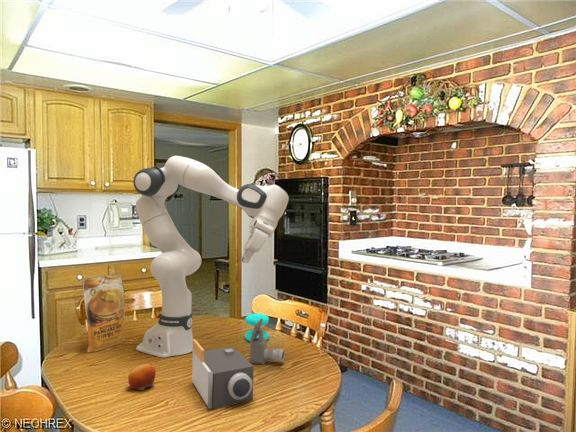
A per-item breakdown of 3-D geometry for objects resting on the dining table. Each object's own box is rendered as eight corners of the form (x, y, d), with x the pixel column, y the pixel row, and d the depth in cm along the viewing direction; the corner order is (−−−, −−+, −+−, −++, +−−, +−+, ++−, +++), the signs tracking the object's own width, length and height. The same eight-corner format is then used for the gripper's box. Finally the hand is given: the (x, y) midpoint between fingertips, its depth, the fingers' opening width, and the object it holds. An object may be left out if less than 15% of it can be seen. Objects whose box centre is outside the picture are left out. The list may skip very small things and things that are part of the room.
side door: (191, 381, 128) (192, 339, 127) (195, 380, 128) (195, 339, 128) (208, 409, 111) (209, 361, 110) (212, 408, 111) (213, 360, 111)
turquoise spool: (256, 320, 163) (240, 315, 170) (255, 345, 163) (240, 339, 170) (273, 316, 170) (258, 311, 177) (273, 339, 170) (257, 333, 177)
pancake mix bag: (76, 351, 152) (77, 278, 151) (120, 337, 168) (121, 271, 167) (87, 355, 148) (87, 280, 147) (131, 341, 165) (131, 273, 164)
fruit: (143, 392, 118) (135, 365, 120) (129, 399, 122) (120, 373, 124) (165, 382, 125) (156, 357, 127) (150, 389, 128) (142, 365, 130)
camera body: (196, 382, 128) (197, 349, 128) (232, 375, 133) (232, 343, 133) (215, 413, 110) (216, 374, 109) (256, 403, 115) (256, 366, 115)
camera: (280, 369, 140) (281, 327, 139) (248, 366, 142) (248, 324, 141) (285, 360, 148) (286, 320, 148) (255, 357, 150) (255, 317, 150)
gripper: (250, 225, 153) (233, 257, 150) (257, 221, 133) (238, 258, 131) (265, 233, 154) (248, 265, 151) (274, 230, 134) (255, 267, 131)
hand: (243, 262), depth 141 cm, fingers open, 8 cm apart
